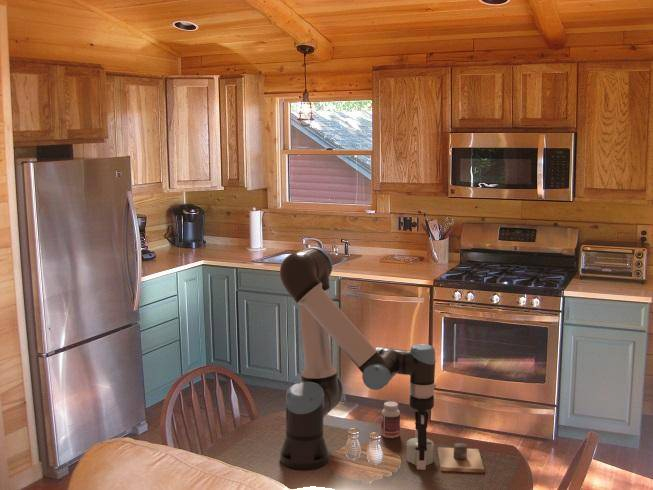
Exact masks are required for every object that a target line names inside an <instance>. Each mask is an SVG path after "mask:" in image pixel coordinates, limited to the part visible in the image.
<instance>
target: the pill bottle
mask: <svg viewBox="0 0 653 490" xmlns="http://www.w3.org/2000/svg"><path fill="white" fill-rule="evenodd" d="M400 427H401V411H400V410H399V403H398V402H396V401H385V402H384V404H383V409H382V410H381V430H380V431H381V436H382V437H384V438H387V439H388V438H389V439H395V437H396V438H398V437H399V436H400V432H401V431H400V430H401V429H400Z"/></svg>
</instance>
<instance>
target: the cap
mask: <svg viewBox="0 0 653 490" xmlns="http://www.w3.org/2000/svg"><path fill="white" fill-rule="evenodd" d="M434 444H435V443H434V442H433V441H432V440H431V439H428V438H427V450H426V466H428V465H430V464H433V462H434V446H435V445H434ZM416 447H418V438H415V437H413V438H409V439H408V440H407V441H406V462H407V461H409V462H411V463H412V464H411V463H410V464H411V465H413V464H414V466H417V450H415V448H416ZM409 462H408V463H409Z"/></svg>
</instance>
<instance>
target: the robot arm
mask: <svg viewBox="0 0 653 490" xmlns="http://www.w3.org/2000/svg"><path fill="white" fill-rule="evenodd" d="M333 266H334V265H333V261H332V258H331V256H330V254H329V253H328V252H327V251H326V250H324V248H322V247H318V246H309V247H304V248H302V249H301V250H298V251H297V252H293V253H290V254H288V255H287V256H286V257H284V259H283V261H282V262H281V265H280V268H279V276H280V277H279V278H280V280H281V282H282V285H283V287H284V288H285V290H286V292H287V293H288V294H289V295H290V297H292V299H293V301H295V303H296V304H297V305H299V313H300V322H301V323H300V325H301V335H302V336H301V337H302V344H303V345H302V346H303V355H304V356H303V357H304V369H303V370H302V371H301V376H300V377H301V382H299V383H297V382H296V383H294V384H292V385H290V386H289V388H288V389H287V391H286V393H285V437H284V439H283V440H284V441H283V443H282V446H281V450H280V452H279V453H280V454H279V457H280V458H279V460H280V463H281V464H282V465H284V466H285V467H287V468H289V469H293V470H302V471H309V470H310V471H311V470H315V469H319V468H321V467H322V468H323V466H325V465H326V464H328V463H329V460H328V459H329V455H330V453H329V449H328V447H327V443H326V441H325V437H324V419H325V417H326V416H327V415H328V414H329V413H330V412H331V411H332V410H333V409H334V408H336V407H337V405H339V403H340V400H341V399H342V397H343V394H344V386H343V383H342V380H341V378H340V377H339V376H338V370H337V369H336V368H335V367H334V366H333V365H332V357H331V356H332V355H331V354H332V353H331V344H330V343H331V342H330V338H331V339H333V341H334V342H335V343H336V344H337V345H338V347H339V348H340V349H341V350H342V351H343V353H345V355H346V356H347V357H348V358H349V360H350V361H351V362H353V364H354V366H356V367H357V369H358V370H359V371H360V372H361V374H362V375H361V377H362V381H363V384H364V385H365V387H367V388H368V389H370V390H373V391H379V390H381V389H383V388H384V387H386V386H387V385H388V384H389V383H390V381H391V380H392V379H393V378H394V377H395V376H396V375H405V376H409V377H410V378H409V407H410V408H411V409H413V410H414V420H415V423H414V424H415V425H414V426H415V430H414V431H415V432H414V438H418V447H416V448H415V450H417V465H416V470H419V471H420V470H426V468H427V465H426V450H427V439H428V438H427V432H428V431H427V429H428V420H429V413H428V410H432V409H433V408H434V406H435V395H434V394H435V388H437V384H436V383H435V378H436V375H435V373H436V362H437V361H436V349H435V348H434V346H432V345H431V344H427V343H420V344H419V343H416V344H413V345H411V347H410V350H409V349H408V350H407V349H399V348H391V347H387V346H385V347H383V346H382V347H381V346H380V347H379V346H377V347H375V348H374V346H373V345H372V344H371V343H370V341H369V340H368V339H367V338H366V337H365V336H364V335H363V334H362V333H361V332H360V331H361V330H359V329H358V328H357V327H356V326H355V324H353V322H352V321H351V320H350V319H349V318H348V316H347V315H346V314H345V313H344V312H343V311H342V310H341V308H340V307H339V306H338V305H337V304H336V303H335V301H334V300H333V299H332V298H331V297H330V296H329V294H328V293H327V292H329V290H330V279H329V278H330V276H331V274H332V271H333Z"/></svg>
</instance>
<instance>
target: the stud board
mask: <svg viewBox="0 0 653 490" xmlns="http://www.w3.org/2000/svg"><path fill="white" fill-rule="evenodd" d="M436 452H437V456H438V461H439V463H438V464H439V469H440V472H458V473H460V472H461V473H463V472H464V473H483V474H484V473H485V468H484V464H483V461H482V457H481V453H480V450H479V448H468V445H467V444H466V443H462V442H455V443H454V444H453V447H440V446H437V451H436Z"/></svg>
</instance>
